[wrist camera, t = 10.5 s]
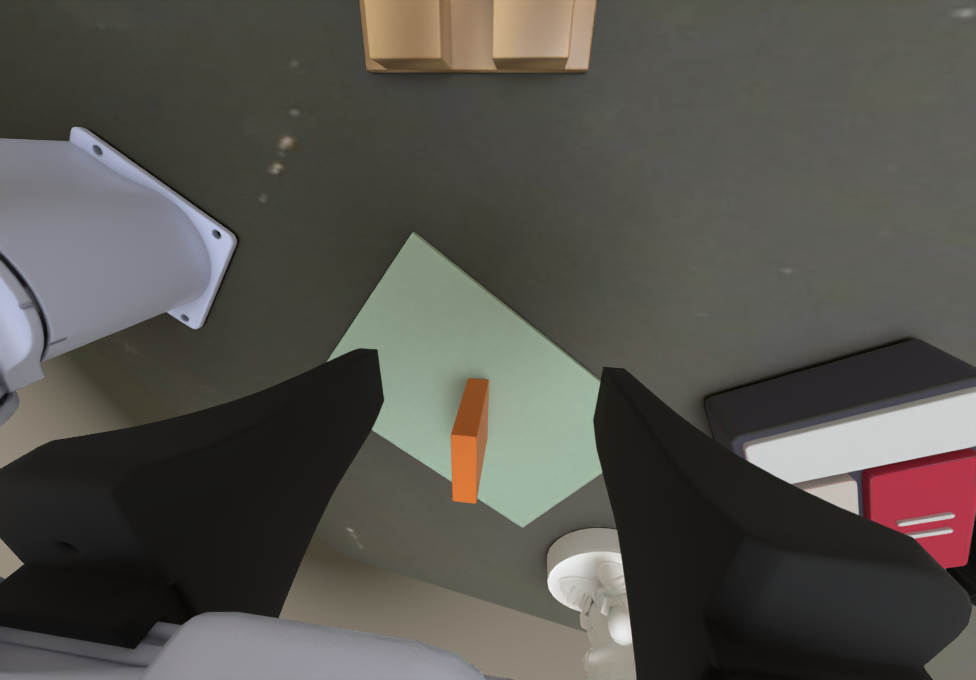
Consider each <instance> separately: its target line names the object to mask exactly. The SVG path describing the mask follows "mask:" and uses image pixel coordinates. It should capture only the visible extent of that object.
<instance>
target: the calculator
mask: <svg viewBox="0 0 976 680" xmlns="http://www.w3.org/2000/svg"><path fill="white" fill-rule="evenodd" d="M705 406H706V410H707V414H708V417H709V421H710V425H711V428H712V432H713V435H714V439H715V441H716V442H718V443H719V444H721V445H722V446H724V447H726V448H727V449H729V450H730V451H732V452H733V453H735V454H737V455H738V456H740V457H742V458H744V459H745V460H747V461H749V462H751V463H752V464H754V465H756V466H758V467H760V468H761V469H763V470H765V471H767V472H769V473H771V474H772V475H774V476H776V477H778V478H780V479H782V480H784V481H786V482H788V483H790V484H792V485H794V486H796V487H798V488H800V489H802V490H804V491H806V492H808V493H810V494H813V495H815V496H817V497H819V498H821V499H823V500H825V501H827V502H830V503H832V504H834V505H836V506H838V507H841V508H843V509H845V510H848V511H850V512H853V513H855V514H857V515H860V516H862V517H865V518H867V519H869V520H872V521H874V522H877V523H879V524H882V525H884V526H886V527H889V528H891V529H894V530H896V531H898V532H901V533H903V534H906V535H908V536H911V537H913V538H914V539H915V540H916V541H917V542H918V543H919V544H920V545H921V546H922V547H923V548H924V549H925V550H926V551H927V552H928V553H929V554H930V555H931V556H932V557H933V558H934V559H935V560H936V561H937V562H938V563H939V564H940V565H941V566H942V567H943V568H952V567H959V566H964V565H966V564H967V562H968V557H969V551H970V544H971V538H972V532H973V526H974V520H975V513H976V367H974V366H972V365H970V364H968V363H966V362H964V361H962V360H960V359H958V358H956V357H954V356H952V355H950V354H948V353H946V352H944V351H942V350H940V349H938V348H936V347H934V346H932V345H930V344H928V343H926V342H924V341H922V340H919V339H915V340H910V341H906V342H903V343H899V344H896V345H892V346H889V347H885V348H881V349H878V350H874V351H871V352H867V353H864V354H860V355H857V356H853V357H850V358H846V359H843V360H839V361H836V362H832V363H828V364H825V365H821V366H818V367H814V368H811V369H807V370H804V371H800V372H797V373H793V374H790V375H786V376H782V377H779V378H775V379H772V380H768V381H765V382H761V383H758V384H754V385H751V386H747V387H744V388H740V389H737V390H733V391H729V392H726V393H722V394H719V395H715V396H712V397H709V398H708V399H707V400H706V401H705Z"/></svg>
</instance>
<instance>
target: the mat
mask: <svg viewBox="0 0 976 680" xmlns="http://www.w3.org/2000/svg"><path fill="white" fill-rule="evenodd" d="M358 348H366V349H378V356H379V364H380V372H381V379H382V387H383V394H384V403H383V405H382V408H381V410H380V413H379V415H378V418H377V420H376V422H375V424H374V426H373V428H372V430H373V431H375V432H376V433H378V434H379V435H381V436H382V437H384V438H385V439H387V440H388V441H390V442H391V443H393V444H395V445H396V446H398V447H399V448H401V449H402V450H404V451H405V452H407V453H408V454H410V455H411V456H413V457H415V458H416V459H418V460H419V461H421V462H422V463H424V464H425V465H427V466H428V467H430V468H431V469H433V470H435V471H436V472H438V473H439V474H441V475H442V476H444V477H445V478H447V479H448V480H450V481H451V482H452V463H451V432H452V429H453V425H454V422H455V419H456V416H457V413H458V409H459V406H460V403H461V400H462V397H463V393H464V390H465V387H466V384H467V381H468V379H469V378H471V379H483V380H489V403H488V439H487V444H486V450H485V456H484V462H483V467H482V473H481V479H480V485H479V490H478V496H477V498H478V499H479V500H481V501H482V502H484V503H485V504H487V505H488V506H490V507H491V508H493V509H495V510H496V511H498V512H499V513H501V514H502V515H504V516H505V517H507V518H508V519H510V520H511V521H513V522H515V523H516V524H518V525H519V526H521V527H522V528H523V527H524V526H526V525H527V524H529V523H530V522H531V521H533V520H534V519H536V518H537V517H539V516H540V515H542V514H543V513H545V512H546V511H547V510H549V509H550V508H552V507H553V506H555V505H556V504H558V503H559V502H560V501H562V500H563V499H565V498H566V497H568V496H569V495H571V494H572V493H573V492H575V491H576V490H578V489H579V488H581V487H582V486H584V485H585V484H587V483H588V482H589V481H591V480H592V479H594V478H595V477H597V476H598V475H600V474H601V473H602V469H601V465H600V461H599V457H598V453H597V449H596V441H595V433H594V424H593V418H594V413H595V408H596V402H597V397H598V392H599V387H600V382H601V380H600V379H598V378H597V377H596V376H595V375H593V374H592V373H591V372H590V371H588V370H587V369H586V368H585V367H583V366H582V365H581V364H580V363H578V362H577V361H576V360H575V359H573V358H572V357H571V356H570V355H568V354H567V353H566V352H565V351H563V350H562V349H561V348H560V347H558V346H557V345H556V344H555V343H553V342H552V341H551V340H550V339H548V338H547V337H546V336H545V335H543V334H542V333H541V332H540V331H538V330H537V329H536V328H535V327H533V326H532V325H531V324H530V323H528V322H527V321H526V320H525V319H523V318H522V317H521V316H520V315H518V314H517V313H516V312H515V311H513V310H512V309H511V308H510V307H508V306H507V305H506V304H505V303H503V302H502V301H501V300H500V299H498V298H497V297H496V296H495V295H493V294H492V293H491V292H490V291H488V290H487V289H486V288H485V287H483V286H482V285H481V284H480V283H478V282H477V281H476V280H474V279H473V278H472V277H471V276H469V275H468V274H467V273H466V272H464V271H463V270H462V269H461V268H459V267H458V266H457V265H456V264H454V263H453V262H452V261H451V260H449V259H448V258H447V257H446V256H444V255H443V254H442V253H441V252H439V251H438V250H437V249H436V248H434V247H433V246H432V245H431V244H429V243H428V242H427V241H426V240H424V239H423V238H422V237H421V236H419V235H418V234H417V233H416V232H413V233H412V234H411V235H410V237H409V238H408V240H407V241H406V243H405V244H404V246H403V247H402V249H401V250H400V252H399V253H398V255H397V256H396V258H395V259H394V261H393V262H392V264H391V265H390V267H389V268H388V270H387V271H386V273H385V274H384V276H383V277H382V279H381V280H380V282H379V284H378V285H377V287H376V288H375V290H374V291H373V293H372V294H371V296H370V297H369V299H368V300H367V302H366V303H365V305H364V306H363V308H362V309H361V311H360V312H359V314H358V315H357V317H356V318H355V320H354V321H353V323H352V324H351V326H350V327H349V329H348V330H347V332H346V333H345V335H344V336H343V338H342V339H341V341H340V342H339V344H338V345H337V347H336V348H335V350H334V351H333V353H332V354H331V356H330V357H329V359H328V360H327V362H328V361H330V360H332V359H334V358H337V357H339V356H341V355H343V354H345V353H348V352H350V351H353V350H355V349H358Z"/></svg>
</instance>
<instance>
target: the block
mask: <svg viewBox="0 0 976 680" xmlns="http://www.w3.org/2000/svg"><path fill="white" fill-rule="evenodd" d="M488 403H489V380H483V379H471V378H469V379H468V381H467V384H466V387H465V390H464V393H463V397H462V400H461V403H460V406H459V409H458V413H457V416H456V419H455V422H454V425H453V429H452V432H451V463H452V494H453V501H458V502H467V503H476V502H477V496H478V490H479V485H480V479H481V473H482V467H483V462H484V456H485V450H486V444H487V439H488Z"/></svg>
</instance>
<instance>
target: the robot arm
mask: <svg viewBox="0 0 976 680" xmlns="http://www.w3.org/2000/svg"><path fill="white" fill-rule="evenodd" d="M101 150H102V152H101ZM217 231H219V232H220V234H221V237H220V236H219V235H218V233H217ZM236 245H237V239H236V237H235V235H234V234H233V233H232V232H231V231H229V230H228V229H227V228H225V227H224V226H222V225H221V224H219V223H218V222H217V221H215V220H214V219H212V218H211V217H210V216H208V215H207V214H205V213H204V212H203V211H201V210H200V209H198V208H197V207H196V206H194V205H193V204H191V203H190V202H189V201H187V200H186V199H184V198H183V197H182V196H180V195H179V194H177V193H176V192H175V191H173V190H172V189H170V188H169V187H168V186H166V185H165V184H163V183H162V182H161V181H159V180H158V179H156V178H155V177H154V176H152V175H151V174H149V173H148V172H146V171H145V170H144V169H142V168H141V167H139V166H138V165H137V164H135V163H134V162H132V161H131V160H130V159H128V158H127V157H125V156H124V155H123V154H121V153H120V152H118V151H117V150H116V149H114V148H113V147H111V146H110V145H109V144H107V143H106V142H104V141H103V140H102V139H100V138H99V137H97V136H96V135H95V134H93V133H92V132H90V131H89V130H88V129H86V128H82V127H73V128H72V129H71V133H70V140H69V141H51V140H28V139H5V138H0V426H1V425H3V424H4V423H5V422H6V421H7V420H8V419H9V418H10V417H11V416H12V415H13V414H14V413H15V411H16V410H17V408H18V405H19V397H18V395H17V393H16V390H18V389H20V388H23V387H25V386H27V385H29V384H32V383H34V382H36V381H39V380H41V379H43V378H45V374H44V372H43V370H42V367H41V362H44V361H46V360H48V359H51V358H54V357H56V356H59V355H61V354H63V353H66V352H68V351H71V350H73V349H76V348H78V347H81V346H83V345H86V344H88V343H91V342H93V341H96V340H98V339H101V338H103V337H105V336H108V335H110V334H113V333H115V332H118V331H120V330H123V329H125V328H128V327H130V326H133V325H135V324H138V323H140V322H142V321H145V320H147V319H150V318H152V317H155V316H157V315H160V314H162V313H165V312H167V313H169V314H170V315H172V316H173V317H175V318H176V319H178V320H180V321H181V322H183V323H184V324H186V325H187V326H189V327H191V328H193V329H198V328H200V327H202V326H203V324H204V322H205V320H206V317H207V315H208V312H209V310H210V307H211V305H212V303H213V300H214V298H215V295H216V293H217V291H218V288H219V286H220V283H221V281H222V278H223V276H224V274H225V271H226V269H227V266H228V264H229V261H230V259H231V257H232V254H233V252H234V249H235V247H236ZM383 403H384V394H383V387H382V379H381V372H380V364H379V356H378V349H366V348H358V349H355V350H353V351H350V352H348V353H345V354H343V355H341V356H339V357H337V358H334V359H332V360H330V361H328V362H326V363H324V364H322V365H320V366H318V367H315V368H313V369H311V370H309V371H307V372H305V373H303V374H300V375H298V376H296V377H293V378H291V379H289V380H286V381H284V382H282V383H280V384H277V385H275V386H273V387H270V388H268V389H265V390H262V391H260V392H257V393H255V394H252V395H249V396H246V397H243V398H240V399H237V400H234V401H231V402H228V403H225V404H222V405H218V406H215V407H211V408H208V409H204V410H201V411H197V412H194V413H190V414H187V415H183V416H179V417H175V418H171V419H167V420H162V421H159V422H154V423H149V424H144V425H139V426H135V427H130V428H124V429H119V430H114V431H108V432H102V433H96V434H90V435H85V436H78V437H72V438H66V439H60V440H53V441H50V442H48V443H46V444H44V445H41V446H40V447H37V448H36V449H34V450H32V451H31V452H29V453H27V454H25V455H23V456H22V457H20V458H19V459H17V460H15V461H13V462H11V463H10V464H8V465H6V466H4V467H3V468H1V469H0V538H1V539H2V540H3V541H4V543H5V544H6V545H7V546H8V547H9V548H10V549H11V550H12V551H13V552H14V553H15V555H16V556H17V557H18V558H19V559H20V560H21V561H22V562H23V563H25V564H24V565H23V566H21V567H20V568H19V569H18V570H17V571H15V572H14V573H12V574H11V575H10V576H9V577H7V578H6V579H4V578H2V577H0V680H513V679H507V678H501V677H495V676H489V675H483V674H482V673H481V671H480V669H478V668H477V667H475V666H474V665H472V664H471V663H469V662H468V661H466V660H465V659H463V658H462V657H460V656H459V655H457V654H456V653H454V652H453V651H450V650H447V649H444V648H440V647H436V646H433V645H430V644H427V643H423V642H420V641H416V640H413V639H407V638H400V637H394V636H388V635H381V634H375V633H369V632H362V631H355V630H350V629H343V628H336V627H330V626H324V625H318V624H311V623H305V622H299V621H292V620H286V619H280V618H279V615H280V612H281V610H282V607H283V605H284V602H285V600H286V597H287V595H288V592H289V590H290V588H291V585H292V582H293V580H294V578H295V575H296V573H297V571H298V568H299V566H300V563H301V561H302V559H303V556H304V554H305V552H306V550H307V548H308V545H309V543H310V541H311V539H312V536H313V534H314V532H315V530H316V527H317V525H318V523H319V521H320V519H321V517H322V515H323V513H324V511H325V509H326V507H327V505H328V502H329V500H330V498H331V496H332V495H333V493H334V491H335V489H336V487H337V486H338V484H339V482H340V480H341V479H342V477H343V476H344V474H345V472H346V471H347V469H348V468H349V466H350V464H351V463H352V461H353V459H354V458H355V456H356V455H357V453H358V451H359V450H360V448H361V446H362V445H363V443H364V442H365V440H366V438H367V437H368V435H369V433H370V432H371V430H372V428H373V426H374V424H375V422H376V420H377V418H378V415H379V413H380V410H381V408H382V405H383ZM593 424H594V433H595V441H596V449H597V453H598V457H599V461H600V465H601V469H602V473H603V476H604V480H605V484H606V488H607V491H608V495H609V499H610V503H611V507H612V510H613V514H614V519H615V523H616V528H617V533H618V539H619V546H620V552H621V559H622V565H623V572H624V580H625V587H626V594H627V601H628V609H629V617H630V626H631V634H632V642H633V651H634V660H635V669H636V679H637V680H933V679H932V678H931V677H930V675H929V674H928V673H927V671H926V670H925V669H924V668H923V666H924V665H925V664H926V663H928V662H929V661H930V660H931V659H932V658H933V657H935V656H936V655H937V654H938V653H939V652H940V651H942V650H943V649H944V648H945V647H946V646H947V645H949V644H950V643H951V642H952V641H953V640H954V639H956V638H957V637H958V636H959V635H960V633H961V632H962V631H963V630H964V629H965V627H966V626H967V625H968V622H969V619H970V615H971V611H972V603H971V601H970V598H969V595H968V592H967V591H966V590H965V589H964V588H963V587H962V586H961V585H960V584H959V583H958V582H957V581H956V580H955V579H954V578H953V577H952V576H951V575H950V574H949V573H948V572H947V571H946V570H945V569H944V568H943V567H942V566H941V565H940V564H939V563H938V562H937V561H936V560H935V559H934V558H933V557H932V556H931V555H930V554H929V553H928V552H927V551H926V550H925V549H924V548H923V547H922V546H921V545H920V544H919V543H918V542H917V541H916V540H915V539H914V538H913V537H911V536H908V535H906V534H903V533H901V532H898V531H896V530H894V529H891V528H889V527H886V526H884V525H882V524H879V523H877V522H874V521H872V520H869V519H867V518H865V517H862V516H860V515H857V514H855V513H853V512H850V511H848V510H845V509H843V508H841V507H838V506H836V505H834V504H832V503H830V502H827V501H825V500H823V499H821V498H819V497H817V496H815V495H813V494H810V493H808V492H806V491H804V490H802V489H800V488H798V487H796V486H794V485H792V484H790V483H788V482H786V481H784V480H782V479H780V478H778V477H776V476H774V475H772V474H771V473H769V472H767V471H765V470H763V469H761V468H760V467H758V466H756V465H754V464H752V463H751V462H749V461H747V460H745V459H744V458H742V457H740V456H738V455H737V454H735V453H733V452H732V451H730V450H729V449H727V448H726V447H724V446H722V445H721V444H719V443H718V442H716V441H715V440H713V439H712V438H710V437H708V436H707V435H706V434H704V433H703V432H701V431H700V430H698V429H697V428H696V427H694V426H693V425H692V424H690V423H689V422H688V421H686V420H685V419H684V418H682V417H681V416H680V415H678V414H677V413H676V412H675V411H673V410H672V409H671V408H670V407H668V406H667V405H666V404H665V403H664V402H662V401H661V400H660V399H659V398H658V397H656V396H655V395H654V394H653V393H652V392H651V391H650V390H648V389H647V388H646V387H645V386H644V385H643V384H642V383H641V382H639V381H638V380H637V379H636V378H635V377H634V376H633V375H631V374H630V373H629V372H628V371H626V370H625V369H623V368H611V367H603V371H602V376H601V382H600V387H599V392H598V397H597V402H596V408H595V413H594V418H593Z"/></svg>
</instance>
